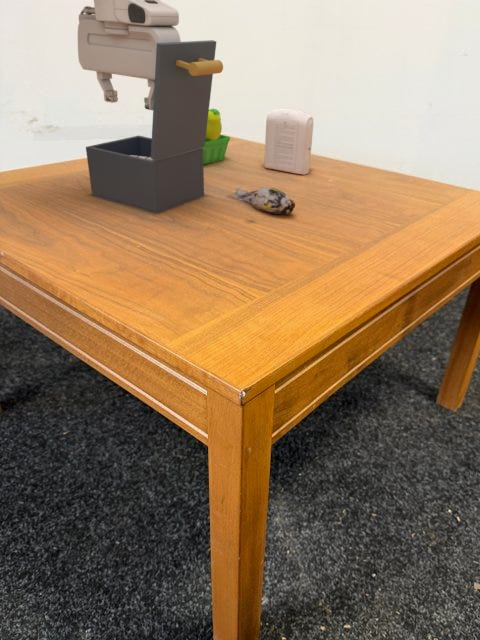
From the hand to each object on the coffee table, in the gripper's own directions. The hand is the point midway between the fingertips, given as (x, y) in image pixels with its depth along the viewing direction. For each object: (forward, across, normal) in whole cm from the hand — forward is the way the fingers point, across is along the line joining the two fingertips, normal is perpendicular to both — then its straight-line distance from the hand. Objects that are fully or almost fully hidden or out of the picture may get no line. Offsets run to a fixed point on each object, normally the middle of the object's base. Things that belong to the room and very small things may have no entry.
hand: (131, 105), depth 92 cm
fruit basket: (+15, -7, +27) cm, 32 cm away
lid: (-2, +11, 0) cm, 11 cm away
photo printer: (+15, +11, +33) cm, 38 cm away
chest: (+15, +2, 0) cm, 15 cm away
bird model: (+15, +21, +7) cm, 27 cm away
